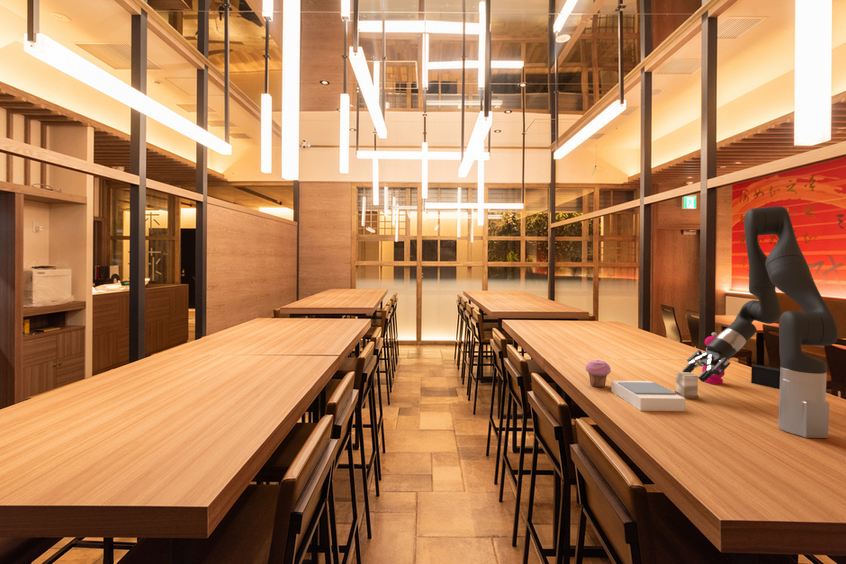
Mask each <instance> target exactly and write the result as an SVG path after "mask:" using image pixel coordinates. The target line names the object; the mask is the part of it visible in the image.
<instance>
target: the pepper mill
mask: <svg viewBox="0 0 846 564" xmlns="http://www.w3.org/2000/svg"><path fill="white" fill-rule="evenodd" d="M717 336H718V334H717V332H715V331H714V332H712V333H711V336H707V337H706V338H705V340H704V345H705V346H706V348H705V352H706V351H707V345H708V344H709V343H710V342H711V341H712V340H713V339H714V338H716V337H717ZM707 367H708V366H702V367H701V368H702V370H701V372H702V373H703V372H704V371H705V370H707ZM717 370H718V371H719V370H720V368H718V369H717ZM725 374H726V373H725V370H724V371H723V372H722V373H721V374H720V375H716V374H715V375H711V376H710V377H709V378H708V379H707V380H706V381H705V382H704V383H706V384H709V383H711V384H710V385H716V384H721V385H723V383H724V379H723V377H724V376H725Z"/></svg>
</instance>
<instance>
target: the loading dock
mask: <svg viewBox="0 0 846 564" xmlns="http://www.w3.org/2000/svg"><path fill="white" fill-rule="evenodd" d="M610 385H611V386H610V387H611V388H610V389H611V391H610V392H611V393H613V394H615V395H616V396H617V397H619V398H621V399H622V400H624V401H625V402H627V403H628V404H630V405H631V406H633V407H634V408H635V409H637V410H638V411H641V412H651V411H652V412H686V401H687V399H685V398H683V397H681V396H679V395H677V394H676V393H675V391H673V390H671V389H668V388H667V387H665V386H662V385H660V384H659V383H657V382H654V381H652V380H615V379H614V380H611V384H610Z"/></svg>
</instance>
